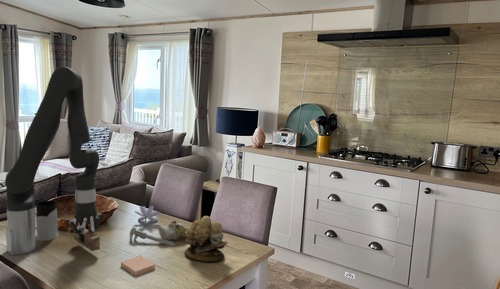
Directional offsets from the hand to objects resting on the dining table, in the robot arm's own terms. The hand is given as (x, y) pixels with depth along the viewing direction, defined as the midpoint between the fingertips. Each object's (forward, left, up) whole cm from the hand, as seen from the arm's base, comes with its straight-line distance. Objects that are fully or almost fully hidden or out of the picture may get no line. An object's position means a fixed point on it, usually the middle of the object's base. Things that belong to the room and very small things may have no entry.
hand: (86, 240), depth 149 cm
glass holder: (-9, +26, -4) cm, 27 cm away
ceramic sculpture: (+33, -13, -4) cm, 36 cm away
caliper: (+24, -11, -4) cm, 26 cm away
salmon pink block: (+7, -21, -3) cm, 23 cm away
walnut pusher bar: (0, 0, -1) cm, 1 cm away
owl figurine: (+32, -35, -4) cm, 48 cm away
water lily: (+35, +12, -4) cm, 38 cm away
